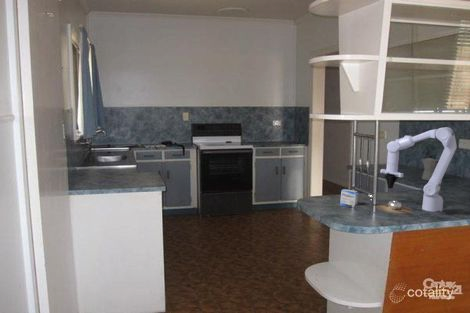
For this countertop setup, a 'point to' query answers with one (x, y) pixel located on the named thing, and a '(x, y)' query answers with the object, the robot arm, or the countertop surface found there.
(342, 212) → the countertop surface
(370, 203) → the dial gauge
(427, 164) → the coffeepot
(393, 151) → the robot arm
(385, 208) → the turntable
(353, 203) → the medicine box
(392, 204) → the metal cover
